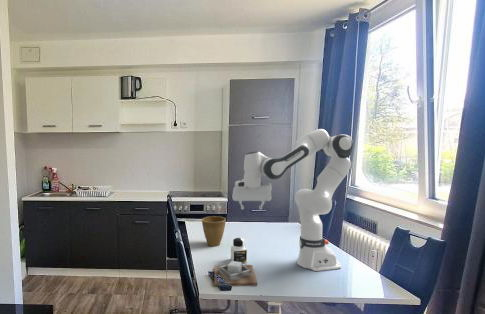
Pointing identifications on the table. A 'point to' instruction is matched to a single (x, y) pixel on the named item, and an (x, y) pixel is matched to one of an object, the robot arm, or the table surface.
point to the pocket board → (240, 281)
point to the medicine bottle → (238, 251)
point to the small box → (234, 267)
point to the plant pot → (213, 229)
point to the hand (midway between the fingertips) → (251, 209)
